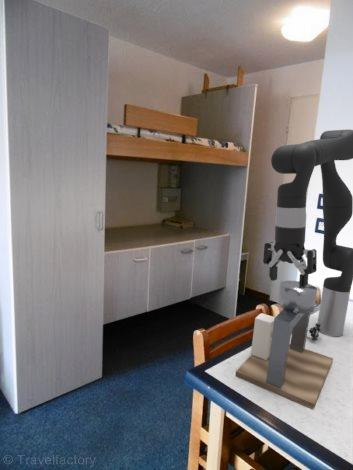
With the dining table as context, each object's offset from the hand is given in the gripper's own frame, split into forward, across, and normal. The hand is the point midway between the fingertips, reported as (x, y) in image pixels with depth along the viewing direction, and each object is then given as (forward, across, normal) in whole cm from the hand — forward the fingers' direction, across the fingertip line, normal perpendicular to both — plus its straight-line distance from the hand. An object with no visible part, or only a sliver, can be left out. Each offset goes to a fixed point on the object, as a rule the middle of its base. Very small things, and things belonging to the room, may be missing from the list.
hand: (287, 283), depth 88 cm
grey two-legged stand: (+27, +2, -5) cm, 27 cm away
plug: (+26, +9, -3) cm, 28 cm away
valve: (+30, +11, -29) cm, 43 cm away
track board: (+28, +2, -5) cm, 29 cm away
